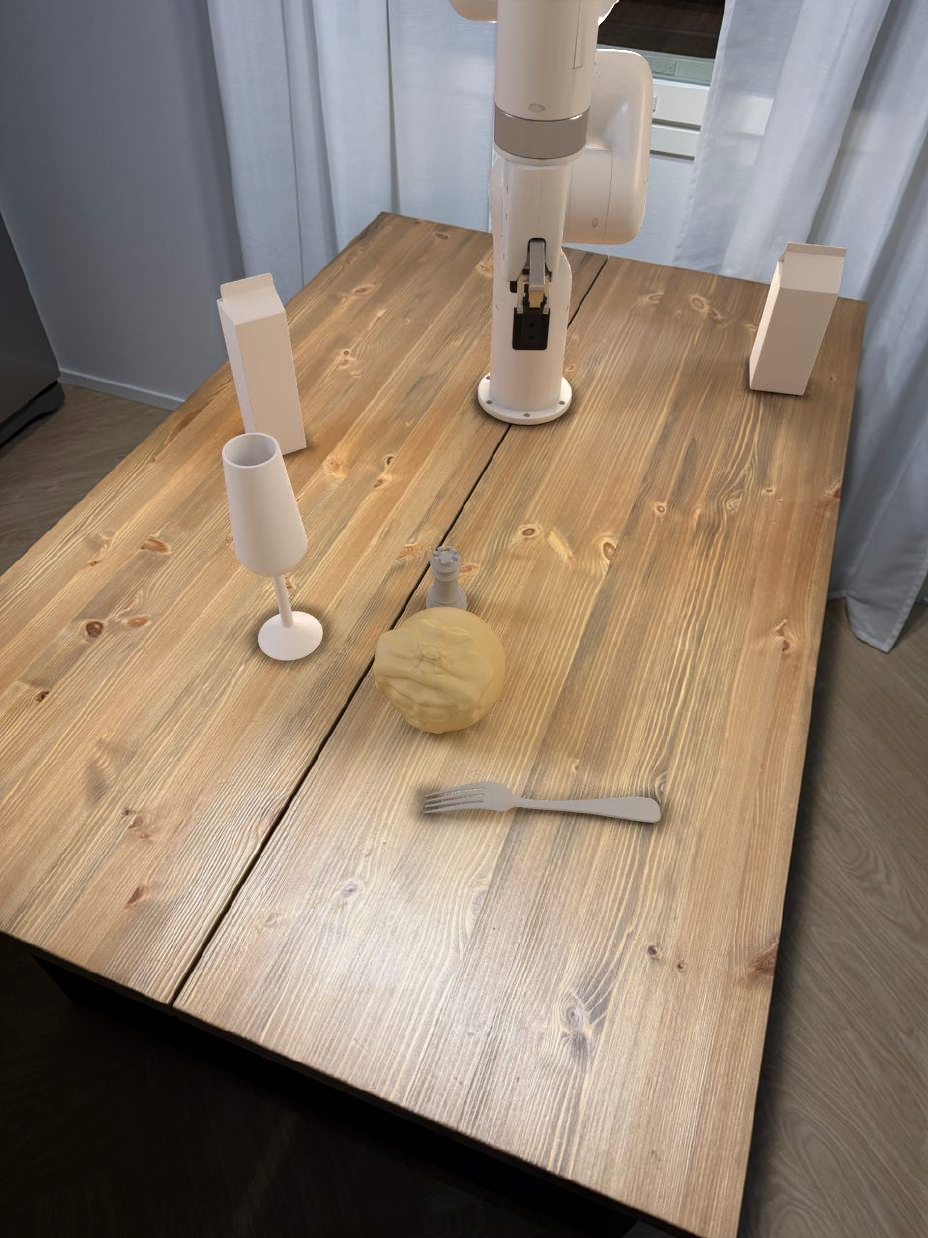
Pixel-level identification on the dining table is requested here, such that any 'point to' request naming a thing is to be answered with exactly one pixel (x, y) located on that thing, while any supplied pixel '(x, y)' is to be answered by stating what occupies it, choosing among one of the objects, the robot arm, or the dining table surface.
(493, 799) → the fork
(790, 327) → the milk carton
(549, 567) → the dining table surface
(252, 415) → the milk
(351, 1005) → the dining table surface
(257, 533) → the champagne flute
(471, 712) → the yellow dough ball
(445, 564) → the rook chess piece
